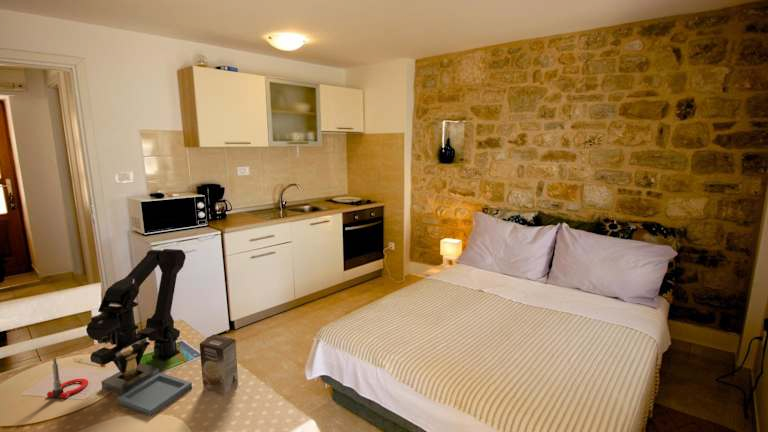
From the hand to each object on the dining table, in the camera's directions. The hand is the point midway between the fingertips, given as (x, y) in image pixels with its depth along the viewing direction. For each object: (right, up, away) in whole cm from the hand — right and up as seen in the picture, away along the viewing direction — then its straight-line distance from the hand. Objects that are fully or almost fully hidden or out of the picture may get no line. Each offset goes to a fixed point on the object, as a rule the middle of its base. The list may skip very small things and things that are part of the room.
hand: (129, 369), depth 124 cm
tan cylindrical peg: (0, -4, +1) cm, 4 cm away
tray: (+12, -6, -6) cm, 15 cm away
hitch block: (0, -4, +1) cm, 4 cm away
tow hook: (-17, -5, -3) cm, 18 cm away
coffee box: (+30, -5, -2) cm, 31 cm away
